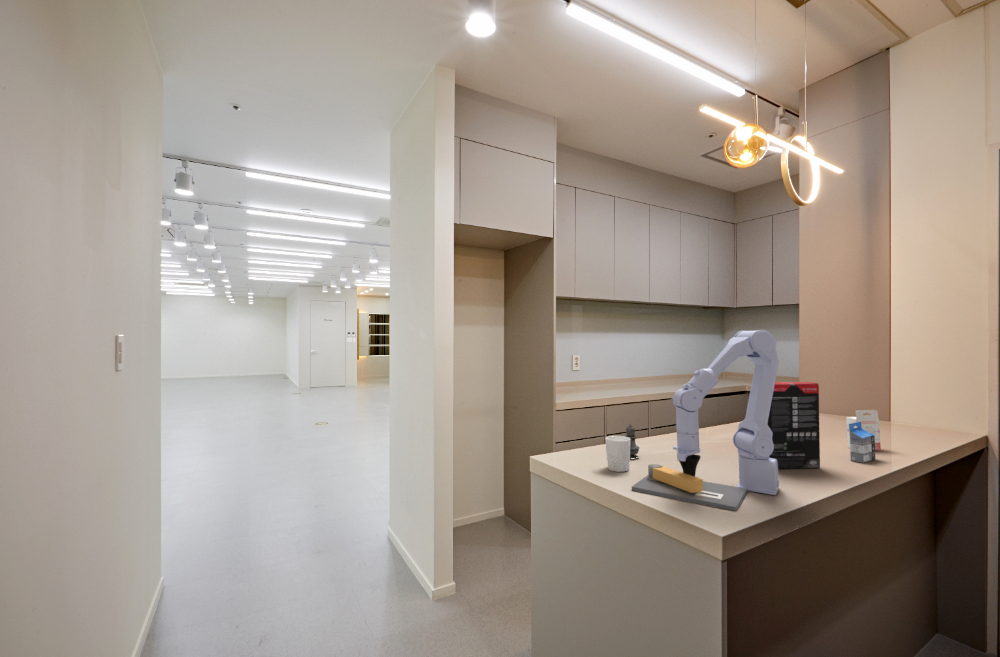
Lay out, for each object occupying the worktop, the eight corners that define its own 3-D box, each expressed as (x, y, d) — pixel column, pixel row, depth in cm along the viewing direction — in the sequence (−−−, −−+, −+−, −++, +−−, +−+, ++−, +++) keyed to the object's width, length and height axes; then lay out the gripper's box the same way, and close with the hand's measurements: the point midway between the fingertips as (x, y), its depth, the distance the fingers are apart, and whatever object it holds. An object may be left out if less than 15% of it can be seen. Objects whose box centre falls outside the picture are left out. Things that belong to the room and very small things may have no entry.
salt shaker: (637, 460, 151) (636, 425, 151) (620, 458, 154) (619, 424, 154) (641, 456, 156) (640, 422, 156) (625, 454, 159) (624, 421, 159)
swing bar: (703, 490, 115) (702, 479, 115) (692, 493, 113) (691, 481, 114) (655, 473, 131) (655, 463, 131) (645, 475, 129) (645, 465, 129)
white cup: (622, 464, 146) (621, 434, 146) (636, 471, 139) (635, 439, 139) (601, 467, 144) (600, 436, 144) (615, 473, 136) (614, 441, 137)
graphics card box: (807, 463, 144) (804, 380, 145) (823, 469, 137) (819, 382, 138) (756, 464, 143) (753, 381, 144) (770, 470, 136) (767, 383, 137)
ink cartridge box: (869, 447, 162) (867, 408, 162) (881, 450, 157) (879, 410, 157) (846, 448, 162) (845, 408, 162) (857, 451, 157) (856, 410, 157)
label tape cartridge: (864, 463, 142) (862, 425, 142) (849, 461, 145) (848, 424, 145) (876, 459, 146) (874, 422, 146) (862, 457, 149) (860, 421, 150)
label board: (747, 492, 118) (747, 487, 118) (736, 511, 105) (735, 505, 105) (651, 475, 134) (651, 471, 134) (631, 490, 121) (631, 485, 121)
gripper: (680, 426, 129) (682, 472, 129) (664, 435, 118) (666, 485, 117) (705, 428, 125) (707, 476, 124) (692, 438, 113) (694, 490, 113)
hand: (689, 481), depth 121 cm, fingers closed, pressing on swing bar
